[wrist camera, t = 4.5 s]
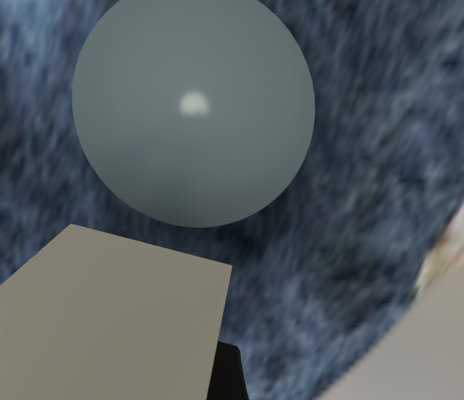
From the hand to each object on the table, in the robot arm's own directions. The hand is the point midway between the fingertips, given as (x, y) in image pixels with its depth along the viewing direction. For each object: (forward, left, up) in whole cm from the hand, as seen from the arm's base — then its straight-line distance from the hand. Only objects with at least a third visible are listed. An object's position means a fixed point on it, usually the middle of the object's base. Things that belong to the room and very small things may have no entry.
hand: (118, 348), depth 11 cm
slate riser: (+3, +4, -9) cm, 10 cm away
